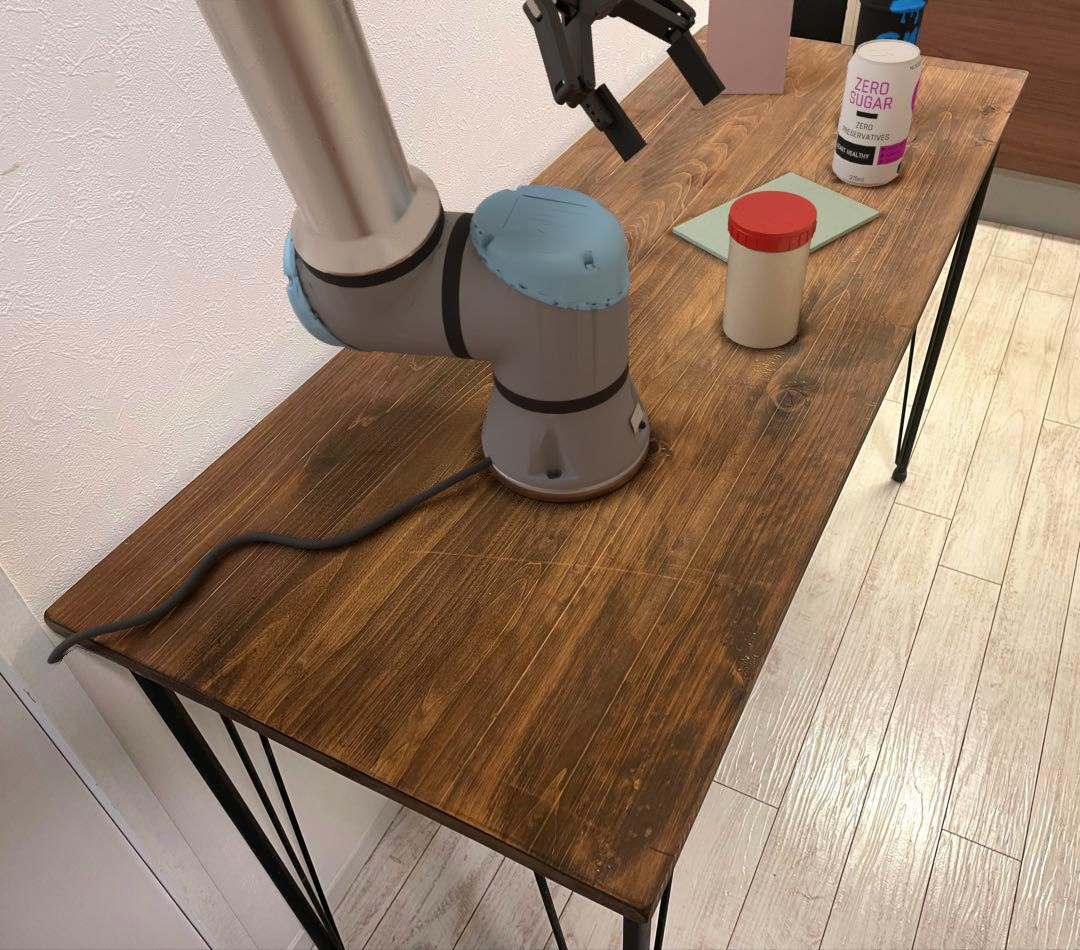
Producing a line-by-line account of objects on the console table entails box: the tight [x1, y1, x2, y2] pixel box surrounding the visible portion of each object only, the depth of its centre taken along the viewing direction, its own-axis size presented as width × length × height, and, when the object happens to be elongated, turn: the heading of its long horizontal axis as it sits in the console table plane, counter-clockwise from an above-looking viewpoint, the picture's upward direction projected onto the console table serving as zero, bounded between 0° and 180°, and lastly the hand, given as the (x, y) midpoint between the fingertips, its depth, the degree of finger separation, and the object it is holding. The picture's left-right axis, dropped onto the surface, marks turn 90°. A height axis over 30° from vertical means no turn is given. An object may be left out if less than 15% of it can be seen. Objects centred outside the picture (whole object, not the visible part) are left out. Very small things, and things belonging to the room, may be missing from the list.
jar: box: [722, 237, 811, 350], centre depth 90 cm, size 8×8×12 cm
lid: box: [728, 191, 817, 252], centre depth 86 cm, size 8×8×2 cm
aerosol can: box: [851, 0, 929, 57], centre depth 118 cm, size 8×8×20 cm
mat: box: [672, 171, 881, 263], centre depth 108 cm, size 20×14×1 cm
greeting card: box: [705, 0, 795, 95], centre depth 130 cm, size 11×7×15 cm, turn 46°
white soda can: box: [831, 39, 924, 188], centre depth 110 cm, size 8×8×15 cm
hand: (677, 124), depth 87 cm, fingers open, 13 cm apart
